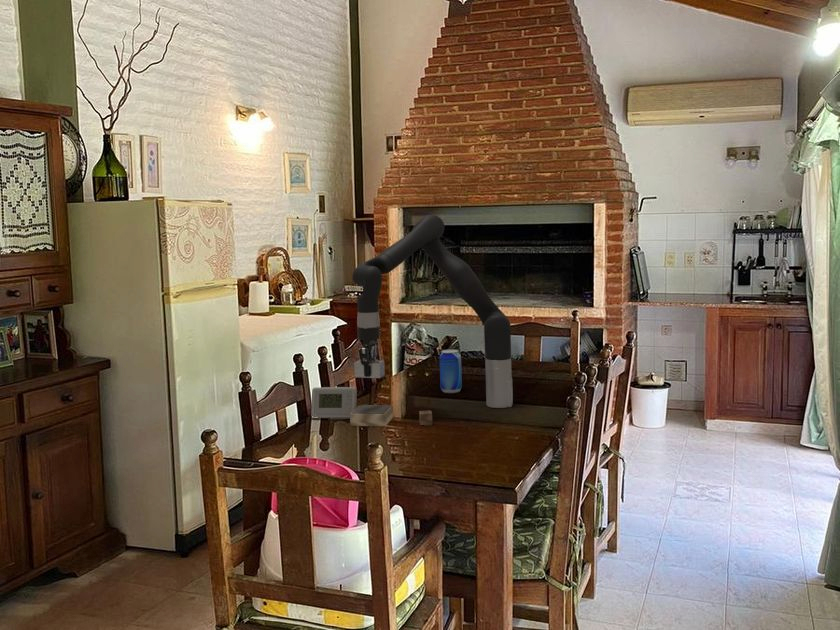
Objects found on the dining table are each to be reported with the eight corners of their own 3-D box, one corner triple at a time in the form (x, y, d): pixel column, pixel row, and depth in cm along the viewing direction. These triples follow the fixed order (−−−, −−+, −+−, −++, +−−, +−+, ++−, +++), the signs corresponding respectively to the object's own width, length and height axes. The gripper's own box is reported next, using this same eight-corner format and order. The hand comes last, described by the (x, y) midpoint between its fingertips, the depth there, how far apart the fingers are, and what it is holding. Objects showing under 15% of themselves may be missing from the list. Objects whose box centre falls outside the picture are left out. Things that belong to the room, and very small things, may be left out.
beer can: (437, 392, 303) (436, 352, 301) (445, 388, 311) (443, 348, 309) (457, 394, 300) (456, 353, 298) (464, 389, 308) (463, 349, 306)
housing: (359, 374, 267) (359, 358, 266) (384, 375, 264) (384, 359, 264) (354, 377, 262) (354, 360, 261) (379, 378, 259) (379, 361, 259)
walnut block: (431, 422, 261) (431, 410, 261) (432, 425, 257) (432, 413, 257) (419, 422, 261) (419, 411, 260) (420, 425, 257) (419, 414, 257)
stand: (393, 416, 269) (393, 405, 269) (385, 426, 258) (384, 413, 257) (360, 416, 272) (359, 404, 271) (350, 425, 260) (349, 413, 260)
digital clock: (308, 419, 270) (306, 390, 269) (320, 413, 279) (318, 384, 277) (351, 422, 265) (349, 391, 264) (361, 415, 273) (360, 385, 272)
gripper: (363, 322, 269) (365, 370, 271) (351, 328, 255) (353, 378, 257) (384, 322, 267) (385, 370, 269) (373, 328, 253) (374, 379, 255)
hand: (369, 374), depth 263 cm, fingers closed on housing, 5 cm apart
